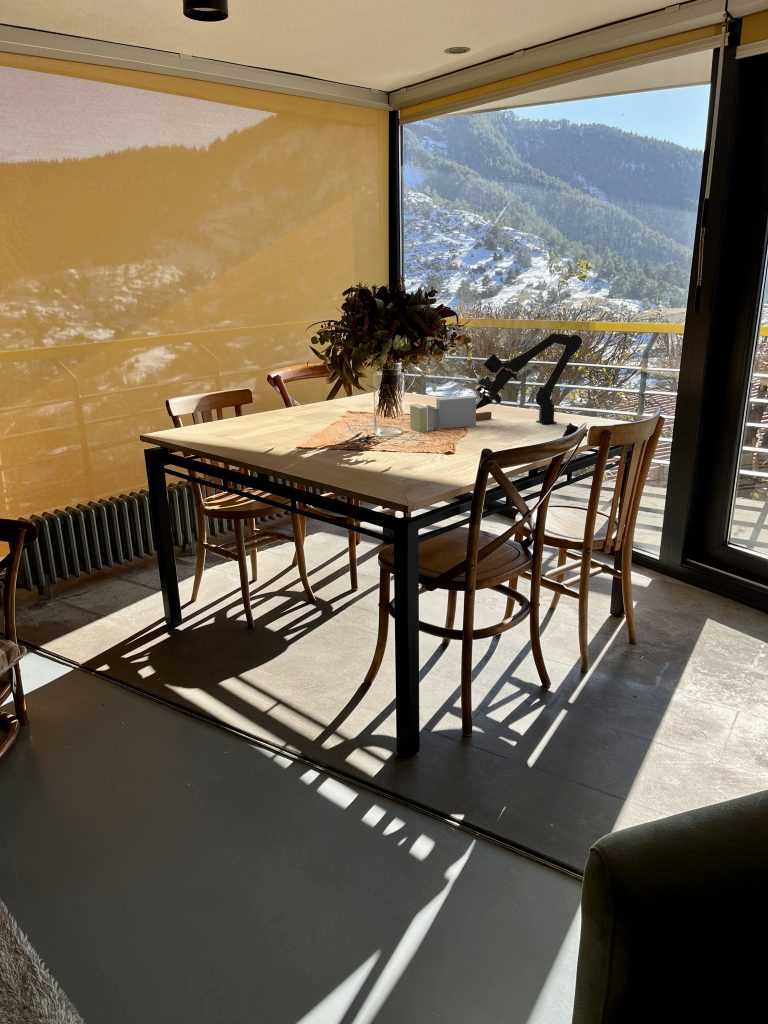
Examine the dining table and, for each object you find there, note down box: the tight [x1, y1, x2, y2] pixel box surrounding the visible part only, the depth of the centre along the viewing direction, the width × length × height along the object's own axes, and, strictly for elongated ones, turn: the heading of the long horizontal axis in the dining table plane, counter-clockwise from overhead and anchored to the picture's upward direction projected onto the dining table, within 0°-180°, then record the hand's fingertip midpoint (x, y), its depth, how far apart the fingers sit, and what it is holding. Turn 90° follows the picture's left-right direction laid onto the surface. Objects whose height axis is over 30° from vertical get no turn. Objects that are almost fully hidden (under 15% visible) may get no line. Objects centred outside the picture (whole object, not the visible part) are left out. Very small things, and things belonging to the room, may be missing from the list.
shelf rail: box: [476, 410, 492, 422], centre depth 335 cm, size 2×30×3 cm, turn 114°
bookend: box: [425, 404, 440, 432], centre depth 322 cm, size 9×6×9 cm
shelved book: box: [409, 403, 429, 433], centre depth 321 cm, size 9×4×10 cm, turn 23°
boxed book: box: [436, 395, 477, 429], centre depth 327 cm, size 16×5×12 cm, turn 103°
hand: (474, 408), depth 328 cm, fingers closed
